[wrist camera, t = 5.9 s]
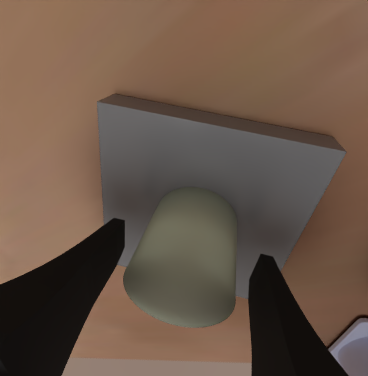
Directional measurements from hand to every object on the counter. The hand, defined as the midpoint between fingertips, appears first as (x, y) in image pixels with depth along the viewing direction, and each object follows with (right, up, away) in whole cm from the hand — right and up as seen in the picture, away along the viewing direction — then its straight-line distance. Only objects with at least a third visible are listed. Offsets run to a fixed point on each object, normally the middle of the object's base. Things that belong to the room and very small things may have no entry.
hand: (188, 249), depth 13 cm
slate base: (+1, +2, +4) cm, 4 cm away
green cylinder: (0, +1, +2) cm, 2 cm away
